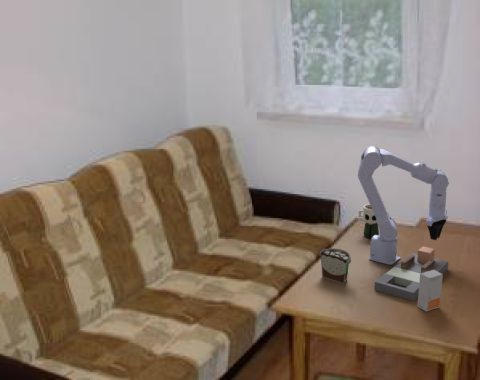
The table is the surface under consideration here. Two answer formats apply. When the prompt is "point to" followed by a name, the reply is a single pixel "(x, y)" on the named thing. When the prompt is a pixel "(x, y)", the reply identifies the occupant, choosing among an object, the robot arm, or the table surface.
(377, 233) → the character mug
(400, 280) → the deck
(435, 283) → the skincare box
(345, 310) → the table surface
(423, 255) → the terracotta block
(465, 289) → the table surface
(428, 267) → the tunnel walls
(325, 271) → the food container
